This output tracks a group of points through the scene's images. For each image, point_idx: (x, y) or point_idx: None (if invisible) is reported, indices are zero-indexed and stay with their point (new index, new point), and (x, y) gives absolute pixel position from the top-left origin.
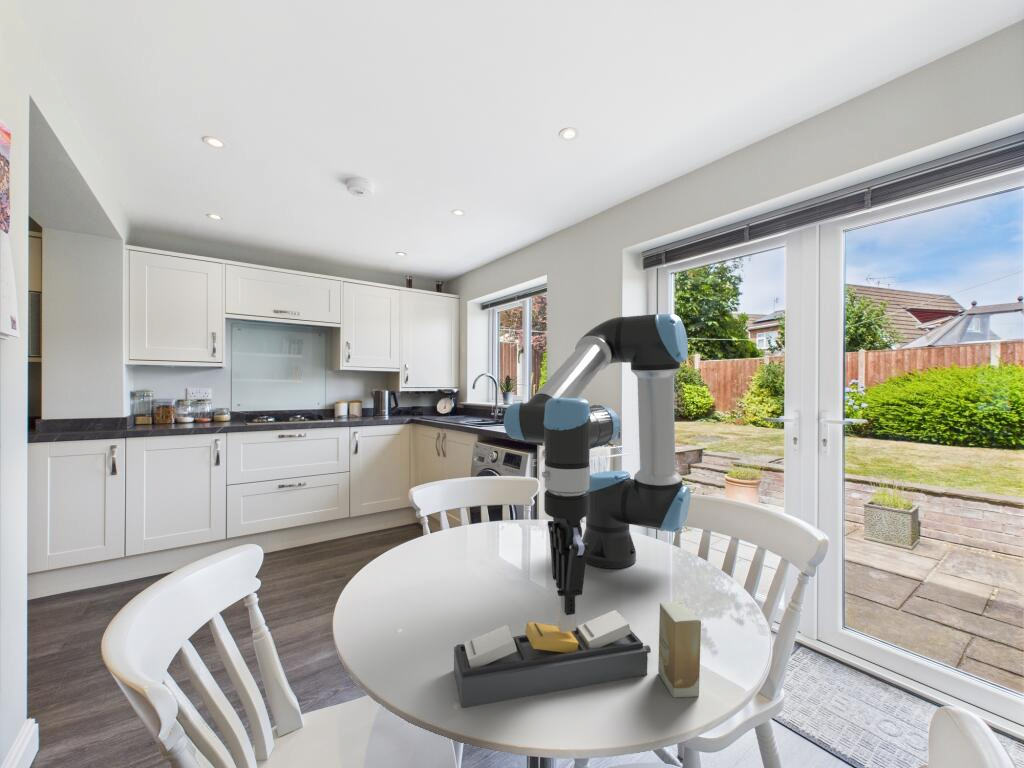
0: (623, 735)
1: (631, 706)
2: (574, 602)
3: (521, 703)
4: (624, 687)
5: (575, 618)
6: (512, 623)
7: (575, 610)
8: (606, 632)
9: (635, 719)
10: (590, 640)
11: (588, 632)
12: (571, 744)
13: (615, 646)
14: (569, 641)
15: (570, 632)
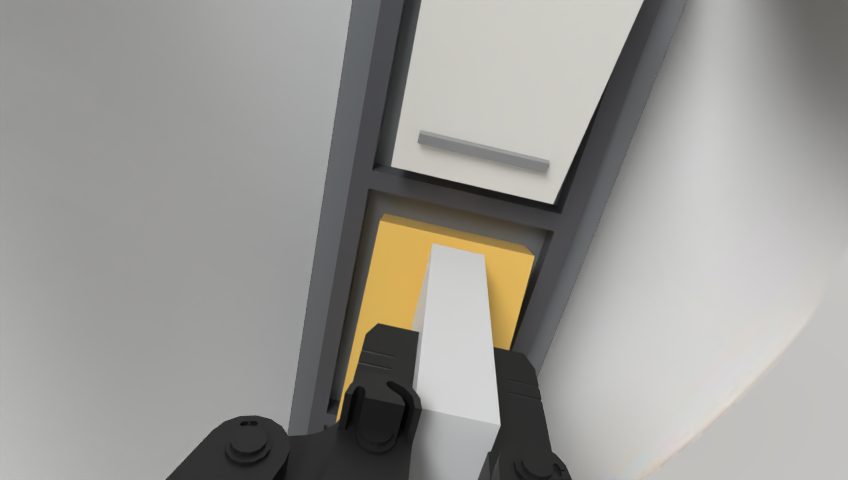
0: (835, 233)
1: (769, 111)
2: (543, 424)
3: None
4: (675, 57)
5: (485, 293)
6: (64, 230)
7: (490, 326)
8: (594, 92)
9: (823, 146)
10: (557, 193)
11: (493, 160)
12: (739, 377)
13: (633, 51)
14: (517, 305)
15: (431, 238)
